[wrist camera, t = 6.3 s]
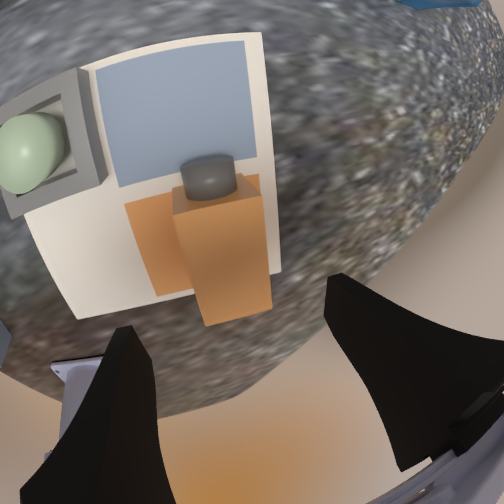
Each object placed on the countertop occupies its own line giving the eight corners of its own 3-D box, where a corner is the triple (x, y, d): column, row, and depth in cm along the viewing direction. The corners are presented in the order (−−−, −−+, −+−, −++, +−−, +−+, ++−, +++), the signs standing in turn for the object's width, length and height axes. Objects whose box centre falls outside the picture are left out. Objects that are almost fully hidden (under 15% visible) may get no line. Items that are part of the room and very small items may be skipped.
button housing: (108, 175, 13) (100, 185, 11) (25, 206, 12) (11, 219, 10) (88, 70, 10) (76, 67, 8) (2, 114, 9) (-16, 118, 7)
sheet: (278, 267, 20) (281, 271, 20) (78, 314, 18) (77, 319, 17) (257, 34, 12) (261, 32, 11) (1, 110, 9) (-4, 111, 8)
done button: (72, 167, 11) (57, 179, 9) (20, 190, 10) (3, 203, 8) (57, 100, 9) (40, 102, 7) (4, 129, 8) (-16, 135, 6)
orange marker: (253, 270, 19) (272, 308, 16) (197, 284, 18) (205, 326, 15) (237, 147, 14) (258, 163, 11) (166, 162, 14) (164, 182, 10)
